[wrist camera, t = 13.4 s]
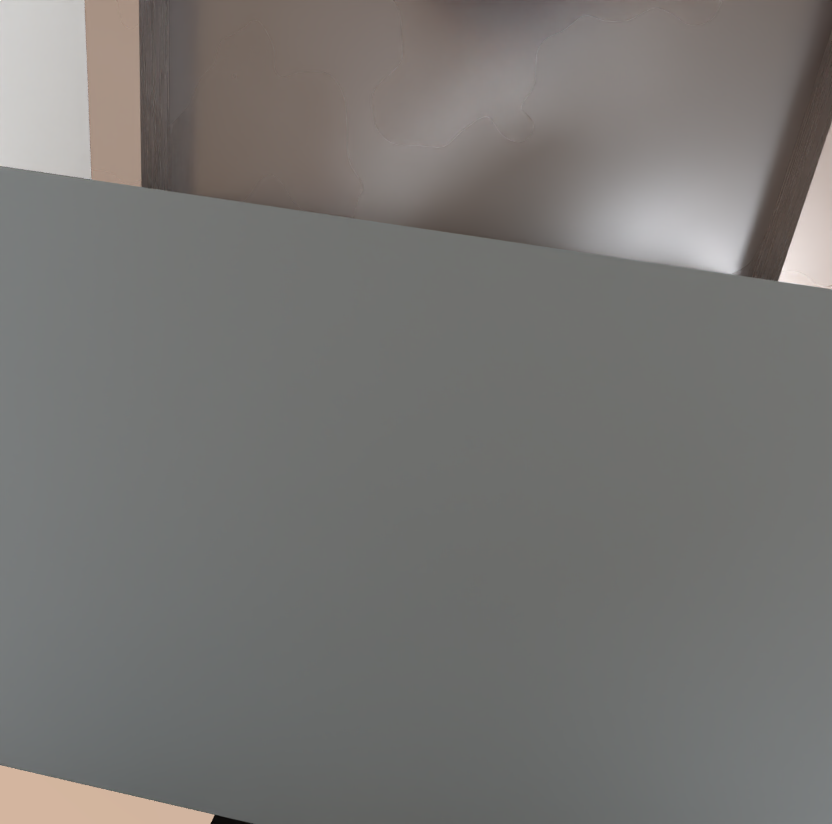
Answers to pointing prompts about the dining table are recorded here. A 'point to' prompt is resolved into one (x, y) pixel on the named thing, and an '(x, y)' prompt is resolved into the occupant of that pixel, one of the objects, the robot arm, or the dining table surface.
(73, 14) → the dining table surface
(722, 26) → the vise base
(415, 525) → the plate
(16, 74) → the dining table surface
